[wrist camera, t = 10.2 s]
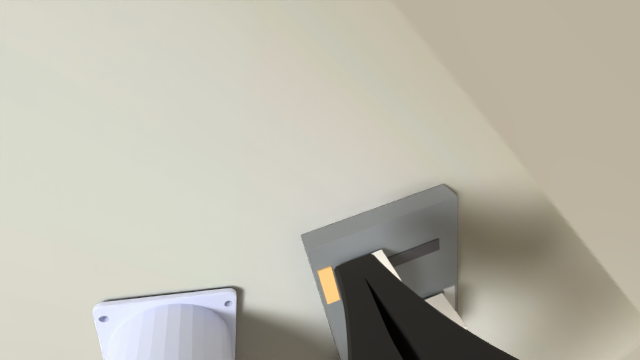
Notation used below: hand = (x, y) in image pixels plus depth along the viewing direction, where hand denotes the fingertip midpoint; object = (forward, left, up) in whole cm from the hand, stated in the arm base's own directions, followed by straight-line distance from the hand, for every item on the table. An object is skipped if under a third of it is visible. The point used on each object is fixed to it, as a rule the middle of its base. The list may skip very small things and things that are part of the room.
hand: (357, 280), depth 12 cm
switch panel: (-13, -9, -9) cm, 18 cm away
